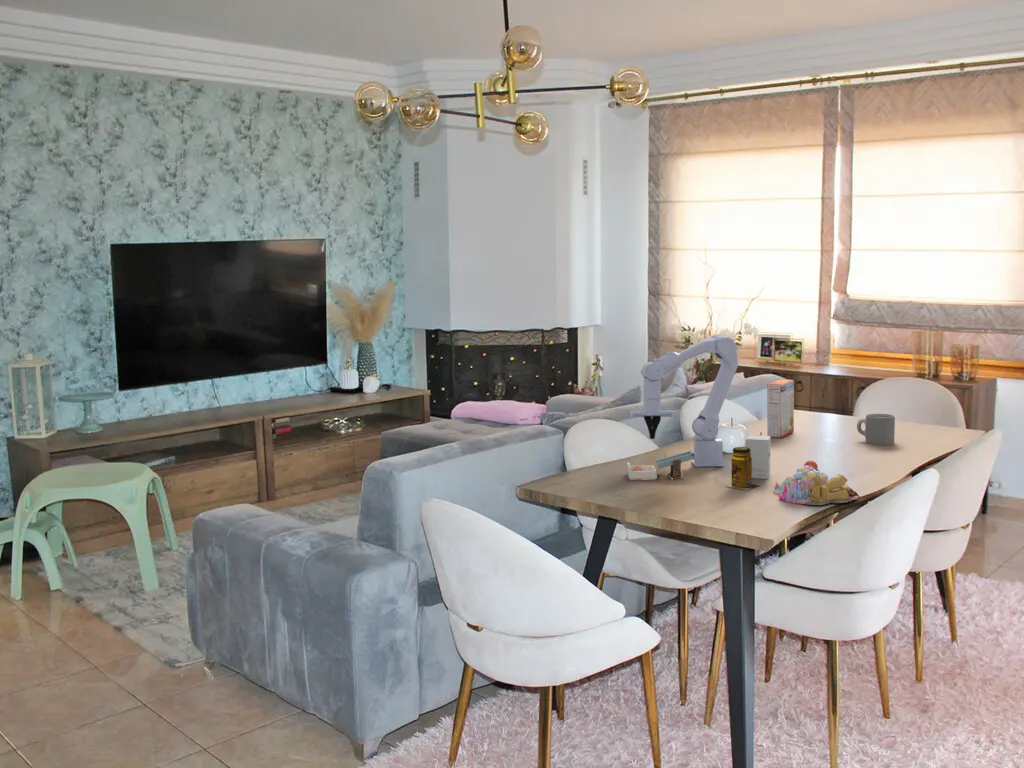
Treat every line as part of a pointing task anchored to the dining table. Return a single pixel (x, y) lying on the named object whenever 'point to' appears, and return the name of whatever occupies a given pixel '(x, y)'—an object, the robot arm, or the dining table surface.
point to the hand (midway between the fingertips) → (652, 438)
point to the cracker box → (780, 408)
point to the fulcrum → (676, 470)
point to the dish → (642, 472)
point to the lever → (668, 461)
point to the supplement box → (759, 455)
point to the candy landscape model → (814, 487)
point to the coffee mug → (878, 429)
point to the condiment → (742, 469)
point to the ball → (637, 468)
